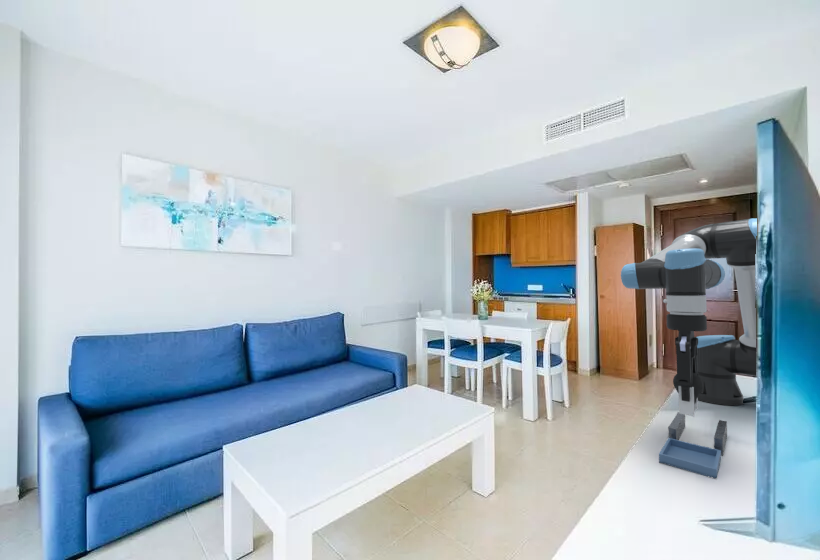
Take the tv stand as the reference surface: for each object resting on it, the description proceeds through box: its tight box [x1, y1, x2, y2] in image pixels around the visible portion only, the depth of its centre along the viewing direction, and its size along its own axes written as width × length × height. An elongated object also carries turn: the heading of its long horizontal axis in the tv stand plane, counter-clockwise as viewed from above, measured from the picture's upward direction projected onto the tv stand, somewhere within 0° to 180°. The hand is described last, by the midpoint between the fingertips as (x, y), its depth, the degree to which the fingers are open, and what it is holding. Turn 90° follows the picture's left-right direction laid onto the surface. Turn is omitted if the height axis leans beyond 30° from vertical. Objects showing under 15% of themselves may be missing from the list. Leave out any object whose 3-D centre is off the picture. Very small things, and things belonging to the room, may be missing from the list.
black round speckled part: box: [672, 372, 703, 413], centre depth 82 cm, size 6×6×10 cm
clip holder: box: [667, 411, 728, 457], centre depth 93 cm, size 16×11×4 cm
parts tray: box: [658, 437, 722, 479], centre depth 82 cm, size 12×10×2 cm
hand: (688, 410), depth 82 cm, fingers closed on black round speckled part, 6 cm apart
